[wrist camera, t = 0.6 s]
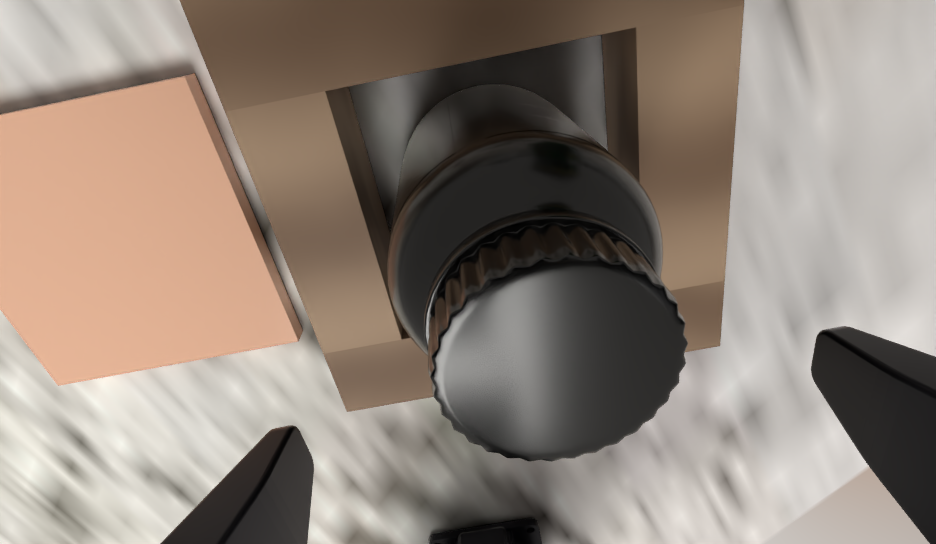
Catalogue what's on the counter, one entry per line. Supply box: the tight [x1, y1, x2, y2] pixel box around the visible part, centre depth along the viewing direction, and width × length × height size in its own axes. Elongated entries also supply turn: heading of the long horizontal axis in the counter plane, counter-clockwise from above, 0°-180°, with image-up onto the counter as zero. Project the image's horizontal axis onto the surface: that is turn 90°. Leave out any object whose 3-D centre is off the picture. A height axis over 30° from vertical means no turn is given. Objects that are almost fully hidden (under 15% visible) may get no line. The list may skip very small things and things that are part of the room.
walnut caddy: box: [180, 0, 744, 412], centre depth 18 cm, size 15×15×4 cm
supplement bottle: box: [387, 84, 688, 461], centre depth 14 cm, size 7×7×12 cm
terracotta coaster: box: [0, 73, 303, 386], centre depth 20 cm, size 11×11×1 cm
